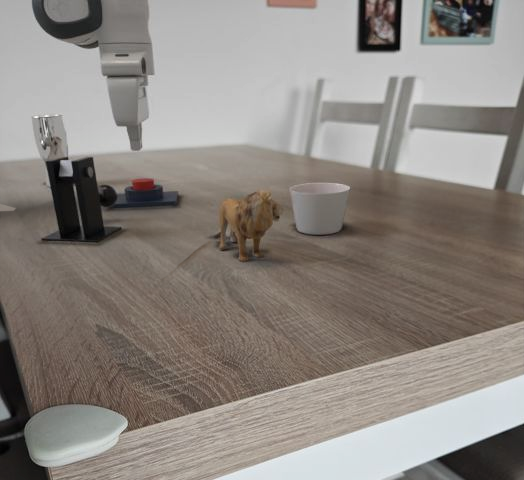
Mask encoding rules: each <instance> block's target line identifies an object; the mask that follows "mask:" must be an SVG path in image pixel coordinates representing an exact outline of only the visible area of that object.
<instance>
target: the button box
mask: <svg viewBox="0 0 524 480" xmlns="http://www.w3.org/2000/svg"><path fill="white" fill-rule="evenodd" d="M154 187H155V188H153V189H147V190H133V186H132V185H130V186H126V187H125V188H124V193H123V192H122V193H117V201H116V203H115V204H114V205H113V206H111V207H108V209H109V210H112V209H113V210H114V209H135V208H153V207H154V208H155V207H156V208H157V207H177V203H178V199H179V195H180V193H179V191H178V190H171V191H170V190H169V191H164V187H163V185H161V184H155V183H154Z"/></svg>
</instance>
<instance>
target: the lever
mask: <svg viewBox="0 0 524 480" xmlns="http://www.w3.org/2000/svg"><path fill="white" fill-rule="evenodd" d="M74 160H75V159H69V160H61V162H60V170H59V177H61V178H62V179H64V180H65V181H67V182H68V183H71V184H73V185H75V181H74V175H73V169H72V164H71V161H74ZM97 186H98V192H99V199H100V205H101V208H105V209H106V208H109V207H111V206H113V205H114V204H115V203H116V201H117V194H118V192H117V191H116V189H115V188H114V186H111V185H109V184H106V183H105V184H100V185H98V184H97Z"/></svg>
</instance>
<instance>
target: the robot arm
mask: <svg viewBox="0 0 524 480" xmlns="http://www.w3.org/2000/svg"><path fill="white" fill-rule="evenodd" d="M149 6H150V5H149V0H31V8H32V12H33V15H34V18H35V21H36V22H37V24H38V25H39V26H40V28H41V29H42V30H43V31H44V32H45V33H46V34H48V35H49V36H50V37H52V38H54V39H55V40H59V41H61V42H64V43H68V44H71V45H72V44H73V45H75V46H76V47H79V48H82V49H86V50H87V49H88V50H92V49H96V48H98V51H99V61H100V71H101V75H102V76H103V77H105V79H106V87H107V93H108V99H109V105H110V108H111V109H110V110H111V113H112V118H113V120H114V123H115V126H116V127H124V128H125V127H126V133H127V136H128V139H129V146H130V150H131V151H133V152H136V151H137V152H139V151H140V150H142V149H143V146H144V145H143V122H144V121H146V120H148V119H149V117H150V108H149V100H148V92H147V91H148V90H147V87H148V86H149V76H154V75H156V71H155V61H154V51H153V42H152V38H151V35H150V31H149V20H150V7H149Z"/></svg>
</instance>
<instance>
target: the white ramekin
mask: <svg viewBox="0 0 524 480" xmlns="http://www.w3.org/2000/svg"><path fill="white" fill-rule="evenodd" d="M350 192H351V186H349V185H347V184H344V183H343V184H342V183H335V182H307V183H301V184H295V185H292V186H290V187H289V194H290V200H291V205H292V210H293V211H292V212H293V217H294V222H295V227H296V230H297V232H299V233H302V234H305V235H312V236H313V235H314V236H324V235H332V234H333V235H334V234H336V233H339V232H340V231H341V230H342V228H343V225H344V224H343V223H344V219H345V214H346V211H347V205H348V201H349V196H350Z"/></svg>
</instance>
